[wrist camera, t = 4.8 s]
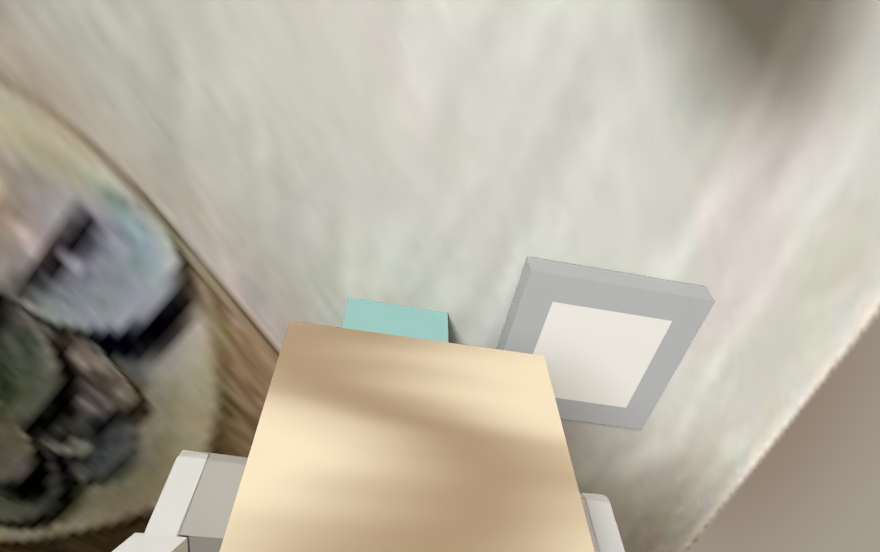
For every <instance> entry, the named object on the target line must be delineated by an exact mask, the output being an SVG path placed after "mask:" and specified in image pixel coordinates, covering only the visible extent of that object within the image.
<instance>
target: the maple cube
mask: <svg viewBox="0 0 880 552" xmlns="http://www.w3.org/2000/svg"><path fill="white" fill-rule="evenodd" d="M219 552H595V551H594V547H593V543H592V540H591V536H590V532H589V528H588V524H587V520H586V516H585V512H584V508H583V505H582V501H581V497H580V493H579V489H578V485H577V481H576V477H575V473H574V470H573V466H572V462H571V458H570V454H569V450H568V446H567V442H566V438H565V435H564V431H563V427H562V423H561V419H560V415H559V411H558V407H557V403H556V400H555V396H554V392H553V388H552V384H551V380H550V376H549V372H548V368H547V365H546V361H545V357H544V356H542V355H535V354H528V353H520V352H513V351H506V350H499V349H492V348H484V347H477V346H470V345H463V344H455V343H448V342H441V341H434V340H426V339H419V338H412V337H405V336H398V335H390V334H383V333H376V332H369V331H361V330H354V329H347V328H340V327H332V326H325V325H318V324H311V323H304V322H296V321H290V322H289V325H288V328H287V332H286V335H285V338H284V341H283V345H282V348H281V351H280V355H279V358H278V361H277V364H276V368H275V371H274V374H273V378H272V381H271V384H270V387H269V391H268V394H267V397H266V401H265V404H264V407H263V410H262V414H261V417H260V420H259V423H258V427H257V430H256V433H255V437H254V440H253V443H252V446H251V450H250V453H249V456H248V460H247V463H246V466H245V469H244V473H243V476H242V479H241V483H240V486H239V489H238V492H237V496H236V499H235V502H234V506H233V509H232V512H231V515H230V519H229V522H228V525H227V528H226V532H225V535H224V538H223V542H222V545H221V548H220V551H219Z"/></svg>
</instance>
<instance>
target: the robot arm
mask: <svg viewBox="0 0 880 552" xmlns="http://www.w3.org/2000/svg"><path fill="white" fill-rule="evenodd" d="M247 460H248V457H240V456H232V455H224V454H216V453H209V452H200V451H191V450H182V451H181V453H180V454H179V455H178V457H177V458H176V460H175V463H174V465H173V467H172V469H171V472H170V474H169V476H168V479H167V481H166V483H165V486H164V488H163V490H162V493H161V495H160V497H159V500H158V502H157V504H156V506H155V509H154V511H153V513H152V516H151V518H150V520H149V523H148V525H147V527H146V530H145V532H144V533H134V534H133V535H132V536H130V537H129V538H128V539H127V540H125V541H124V542H123V543H122V544H120V545H119V546H118V547H117V548H115V549H114V550H113V551H112V552H219V551H220V548H221V545H222V542H223V538H224V535H225V532H226V528H227V525H228V522H229V519H230V515H231V512H232V509H233V506H234V502H235V499H236V496H237V492H238V489H239V486H240V483H241V479H242V476H243V473H244V469H245V466H246V463H247ZM579 493H580V492H579ZM580 497H581V501H582V505H583V508H584V512H585V516H586V520H587V524H588V528H589V532H590V536H591V540H592V543H593V547H594V551H595V552H625V549H624V546H623V543H622V539H621V536H620V533H619V530H618V526H617V523H616V520H615V517H614V514H613V510H612V507H611V504H610V501H609V499H608V498H607V497H606V495H602V494H592V493H580Z"/></svg>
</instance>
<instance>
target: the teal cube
mask: <svg viewBox="0 0 880 552" xmlns="http://www.w3.org/2000/svg"><path fill="white" fill-rule="evenodd" d="M342 328H347V329H354V330H361V331H369V332H376V333H383V334H390V335H398V336H405V337H412V338H419V339H426V340H434V341H441V342H448V313H446V312H439V311H433V310H426V309H420V308H413V307H407V306H400V305H394V304H387V303H381V302H375V301H368V300H362V299H355V298H349V297H348V301H347V306H346V310H345V315H344V320H343V324H342Z"/></svg>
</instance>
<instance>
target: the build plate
mask: <svg viewBox="0 0 880 552" xmlns="http://www.w3.org/2000/svg"><path fill="white" fill-rule="evenodd" d="M714 302H715V300H714V299H713V297H712V296H711V295H710V293H709V292H708V290H707V289H706V287H704V286H698V285H692V284H686V283H680V282H675V281H669V280H663V279H657V278H651V277H645V276H639V275H633V274H627V273H621V272H615V271H609V270H604V269H598V268H592V267H586V266H580V265H574V264H568V263H562V262H556V261H550V260H544V259H538V258H533V257H527V259H526V262H525V265H524V268H523V271H522V274H521V277H520V280H519V283H518V286H517V289H516V292H515V295H514V298H513V301H512V304H511V307H510V310H509V313H508V316H507V319H506V322H505V325H504V329H503V332H502V335H501V338H500V341H499V344H498V347H497V349H499V350H506V351H513V352H520V353H528V354H535V355H542V356H544V357H545V361H546V365H547V368H548V372H549V376H550V380H551V384H552V388H553V392H554V396H555V400H556V403H557V407H558V411H559V415H560V419H566V420H573V421H581V422H588V423H595V424H602V425H610V426H617V427H624V428H632V429H639V430H642V428H643V426H644V425H645V423H646V421H647V419H648V418H649V416H650V414H651V412H652V411H653V409H654V407H655V405H656V404H657V402H658V400H659V398H660V397H661V395H662V393H663V391H664V390H665V388H666V386H667V384H668V383H669V381H670V379H671V377H672V376H673V374H674V372H675V370H676V369H677V367H678V365H679V363H680V362H681V360H682V358H683V356H684V355H685V353H686V351H687V349H688V348H689V346H690V344H691V342H692V341H693V339H694V337H695V335H696V334H697V332H698V330H699V328H700V327H701V325H702V323H703V321H704V320H705V318H706V316H707V314H708V313H709V311H710V309H711V307H712V306H713V304H714Z"/></svg>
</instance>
